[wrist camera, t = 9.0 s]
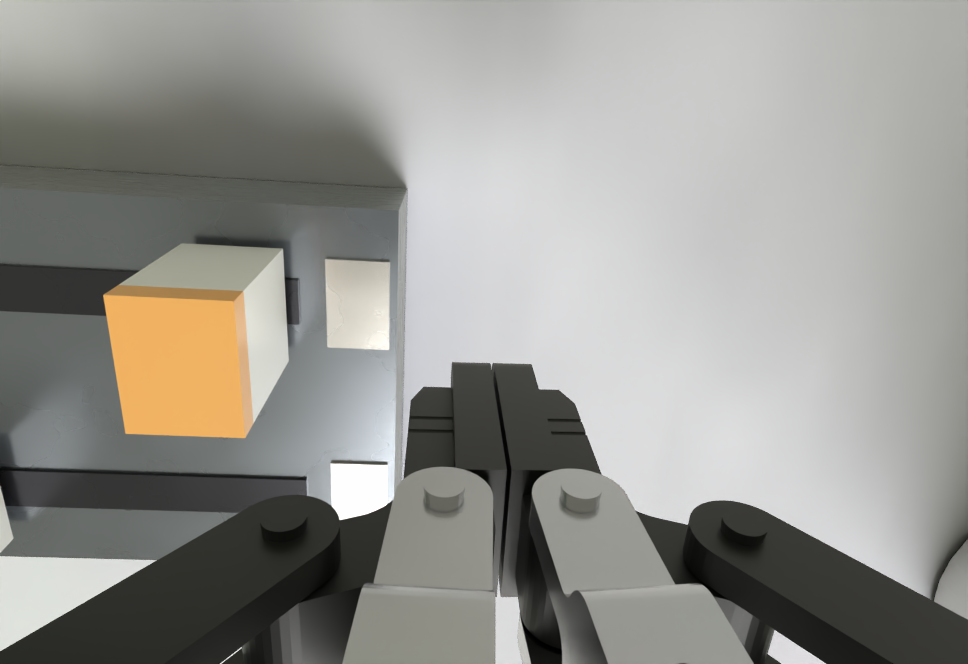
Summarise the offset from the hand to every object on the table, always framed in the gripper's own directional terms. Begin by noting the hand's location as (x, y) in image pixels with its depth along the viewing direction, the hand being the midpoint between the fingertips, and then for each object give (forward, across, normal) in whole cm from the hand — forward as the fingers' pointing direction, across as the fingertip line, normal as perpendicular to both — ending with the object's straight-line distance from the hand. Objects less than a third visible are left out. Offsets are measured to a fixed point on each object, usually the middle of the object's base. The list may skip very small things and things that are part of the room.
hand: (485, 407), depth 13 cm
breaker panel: (+8, +10, +3) cm, 13 cm away
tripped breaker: (+5, +6, 0) cm, 8 cm away
